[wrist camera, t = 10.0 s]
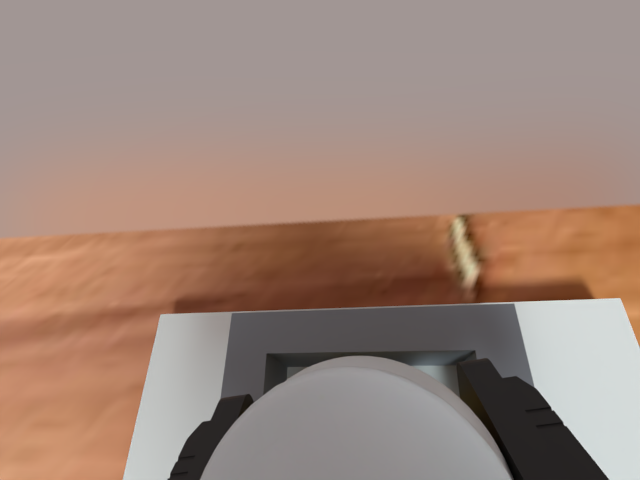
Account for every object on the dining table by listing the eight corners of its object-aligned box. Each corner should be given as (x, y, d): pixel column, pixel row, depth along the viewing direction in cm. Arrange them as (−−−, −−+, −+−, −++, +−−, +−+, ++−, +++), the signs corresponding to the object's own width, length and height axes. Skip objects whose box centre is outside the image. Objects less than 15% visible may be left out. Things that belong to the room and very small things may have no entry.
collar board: (601, 309, 16) (670, 268, 12) (751, 728, 10) (978, 914, 6) (176, 322, 19) (120, 293, 15) (109, 647, 13) (-8, 736, 9)
